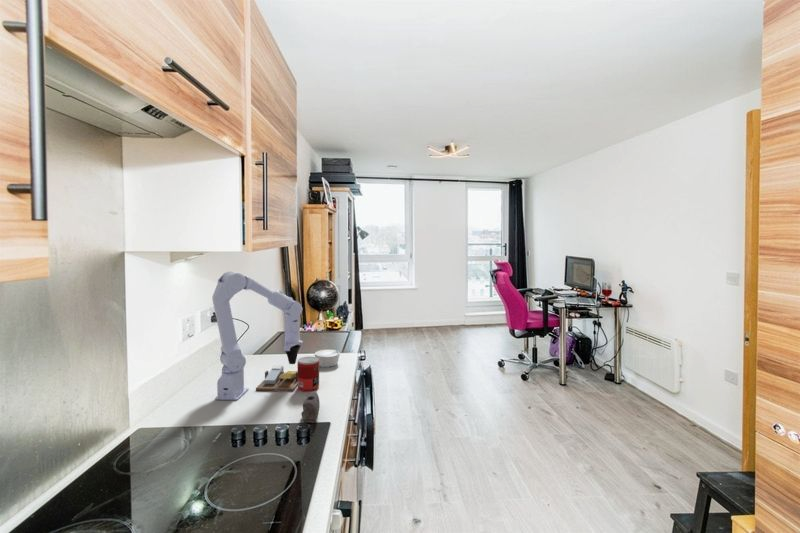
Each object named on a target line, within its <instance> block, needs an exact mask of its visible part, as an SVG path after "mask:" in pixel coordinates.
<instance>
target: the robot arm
mask: <svg viewBox="0 0 800 533" xmlns="http://www.w3.org/2000/svg"><path fill="white" fill-rule="evenodd" d="M242 290H246V291H247V290H248V291H249V290H250V291H253V292H254V293H256V294H258V295H260V296H262V297H265V298H266V299H267V302H268V304H269V305H271V306H273V307H275V308H277V309H278V310H280V311H282V313H284V346H283V351H284V352H285V354H286V356H287V360H288V364H289V365H296V362H297V360H298V359H297V357H298V354H299V350H300V348H301V345H302V344H303V342H304V341H303V340H301V329H300V327H301V314H302V312H303V309H304V308H303V307H302V305H301V303H300V301H297V300H294V298H293V297H291V296H288V295H286V294H284V291H282V290H277V289H276V290H270V289H269V288H268V287H266V286H264V285H263V284H261V283H260V282H259V281H257V280H255V279H253V278H251V277H249V276H246V275H244V274H242V273H238V272H234V271H226V272H224V273H223V274H222V275H221V276H220V277H219V278H218V279H217V285H216V287H215V289H214V292H213V295H212V303H213V309H214V312H215V318H216V322H217V327H218V332H219V333H218V334H219V337H220V341H221V347H220V350H221V351H220V353H221V354H220V357H219V360H220V363H221V364H222V367H221V375H220V377H219V378H218V380H217V383H216V384H217V386H216V388H217V395H216V397H215V398H214V400H217V401H218V400H223V401H225V400H227V401H237V400H239V399H240V398H241V397H243V395H244V394H245V393H246V392H248V391H249V387H245V366H246V363H247V361H246V357H245V356H244V355H243V353H242V350H241V348H240V345H239V343H238V339H237V332H236V329H235V324H234V319H233V315H232V314H233V313H232V309H231V304H230V301H231V300H232V299H233V297H234V296H235V295H236V294H238V293H240V292H241V291H242Z"/></svg>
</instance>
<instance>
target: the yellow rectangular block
mask: <svg viewBox="0 0 800 533" xmlns="http://www.w3.org/2000/svg"><path fill="white" fill-rule="evenodd" d="M297 371H298V370H288V371H285V372H284V373H283V374H280V378H286V379H291V378H293V377H296V374H295V373H296V372H297Z"/></svg>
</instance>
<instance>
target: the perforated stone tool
mask: <svg viewBox="0 0 800 533" xmlns="http://www.w3.org/2000/svg"><path fill="white" fill-rule="evenodd" d="M302 402H303V403H302V410H303V411H302V412H301V417H302V420H303V422H304V423H307V424H308V423H312V424H313V423H316V421H317V419H318V416H319V411H320V405H321V404H320V397H319V395H318V393H317V392H316V391H310V392H309V393H307V395H306V396H305V398H304V399H303V401H302Z"/></svg>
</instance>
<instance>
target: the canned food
mask: <svg viewBox="0 0 800 533" xmlns="http://www.w3.org/2000/svg"><path fill="white" fill-rule="evenodd" d="M297 371H298V386H297V389H298V390H299V391H301V392H315V391H316V390H318V388H319V387H320V366H319V358H317V357H315V356H303V357H299V358H298V359H297Z"/></svg>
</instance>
